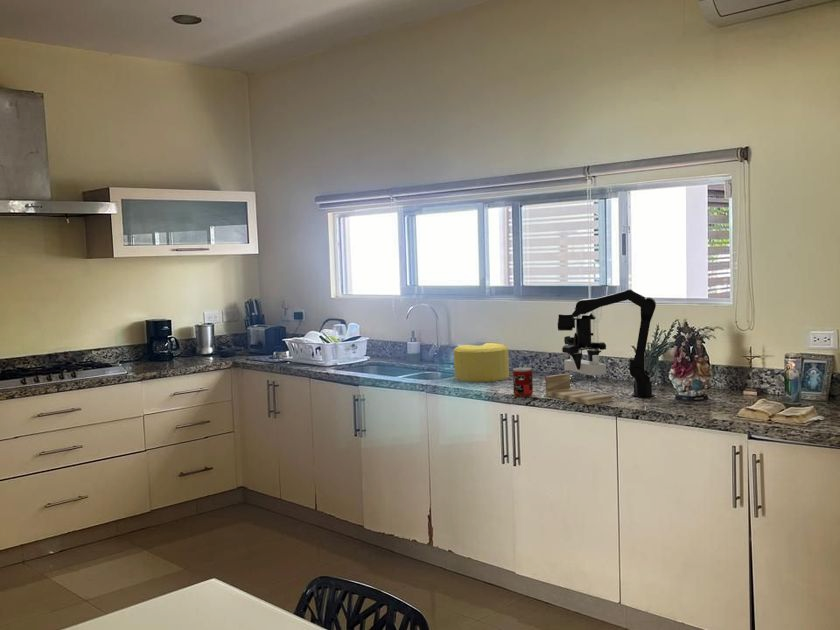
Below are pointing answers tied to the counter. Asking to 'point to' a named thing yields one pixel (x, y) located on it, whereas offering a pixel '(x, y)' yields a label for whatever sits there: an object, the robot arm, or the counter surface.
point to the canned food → (522, 381)
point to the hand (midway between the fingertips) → (584, 368)
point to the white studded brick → (586, 366)
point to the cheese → (481, 362)
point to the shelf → (572, 391)
